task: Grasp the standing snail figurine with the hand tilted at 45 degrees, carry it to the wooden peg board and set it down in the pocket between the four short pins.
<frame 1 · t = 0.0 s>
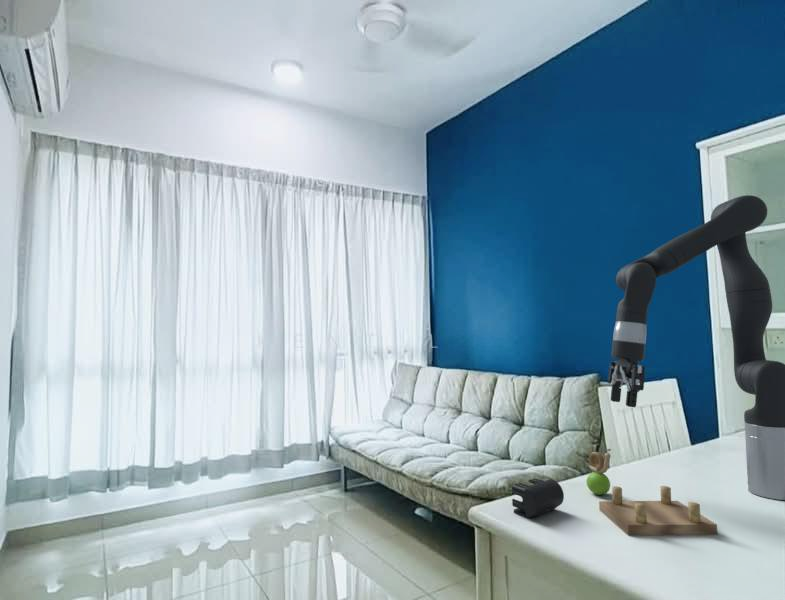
hand: (622, 404, 118), 22 cm above the table, tool pointing down, fingers open, 8 cm apart
snail figurine: (600, 495, 116), on the table
wooden peg board: (654, 521, 100), on the table
end cap: (538, 513, 106), on the table
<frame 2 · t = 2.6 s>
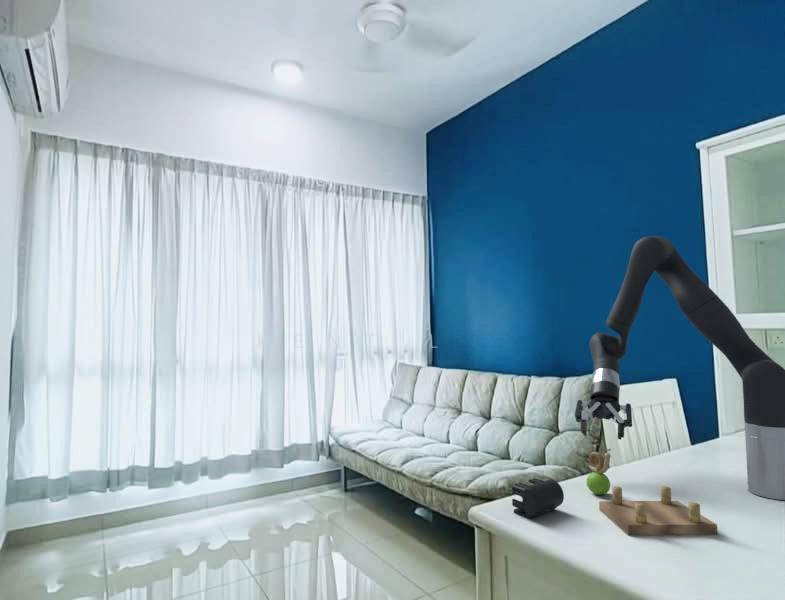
hand: (601, 435, 124), 13 cm above the table, tool tilted 45°, fingers open, 8 cm apart
nothing on the table moved.
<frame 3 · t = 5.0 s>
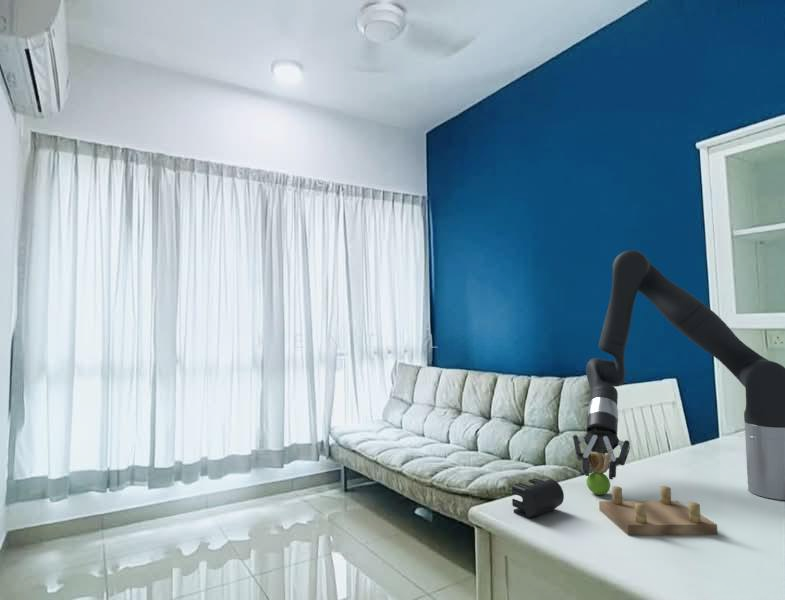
hand: (598, 475, 115), 5 cm above the table, tool tilted 45°, fingers closed on snail figurine, 5 cm apart
snail figurine: (600, 495, 116), on the table, touching gripper
everything else where it was.
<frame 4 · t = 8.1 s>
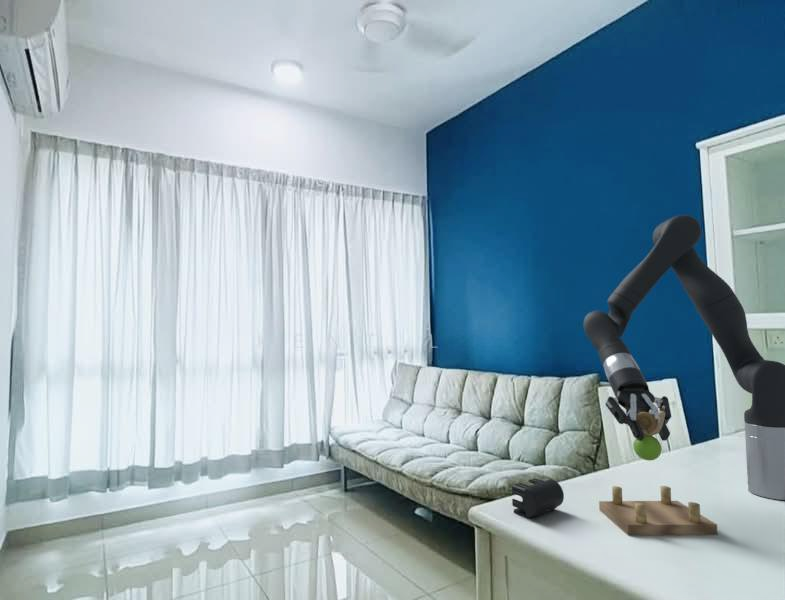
hand: (653, 438, 100), 18 cm above the table, tool tilted 45°, fingers closed on snail figurine, 4 cm apart
snail figurine: (650, 461, 101), point 13 cm above the table, touching gripper
everything else where it was.
when the fingers open (8 cm above the table, at t = 10.9 s): snail figurine stays where it is, resting on wooden peg board.
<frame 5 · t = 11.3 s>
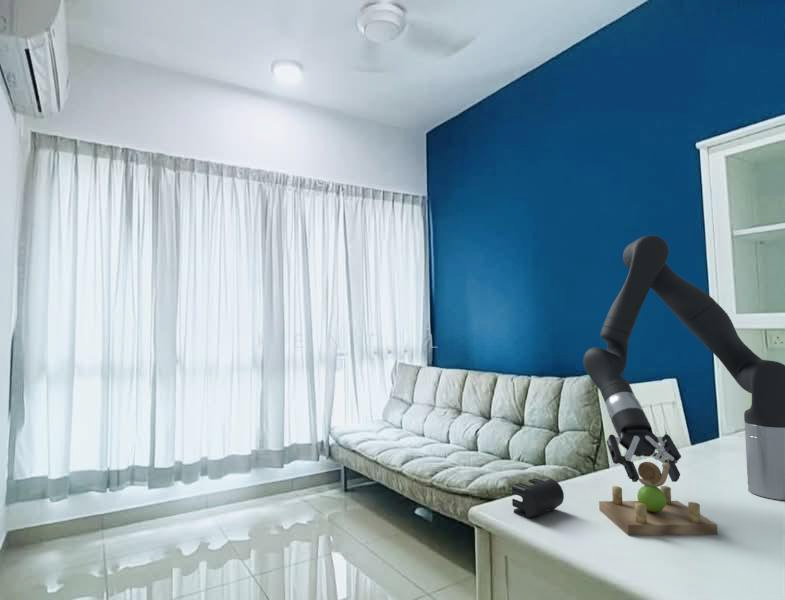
hand: (656, 480, 99), 9 cm above the table, tool tilted 45°, fingers open, 8 cm apart
snail figurine: (654, 512, 100), point 2 cm above the table, touching wooden peg board
everything else where it was.
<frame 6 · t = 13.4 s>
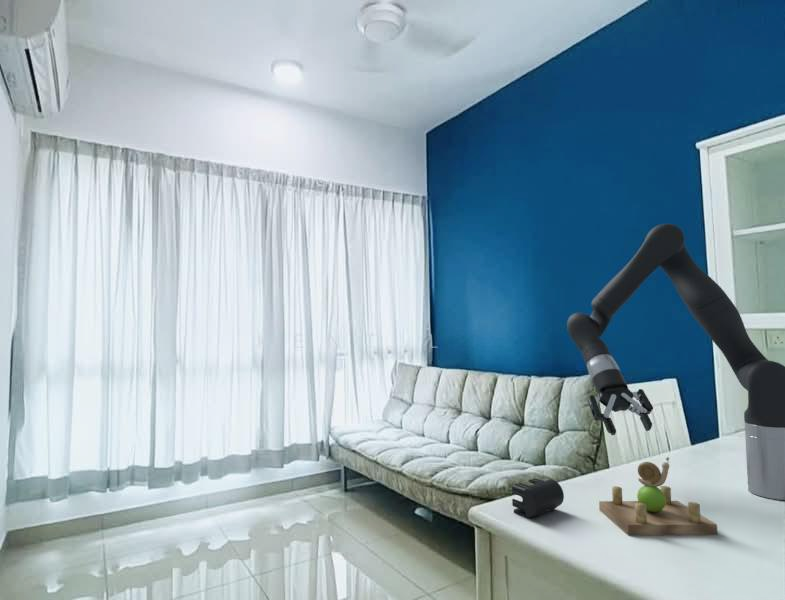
hand: (631, 431, 114), 16 cm above the table, tool tilted 40°, fingers open, 8 cm apart
nothing on the table moved.
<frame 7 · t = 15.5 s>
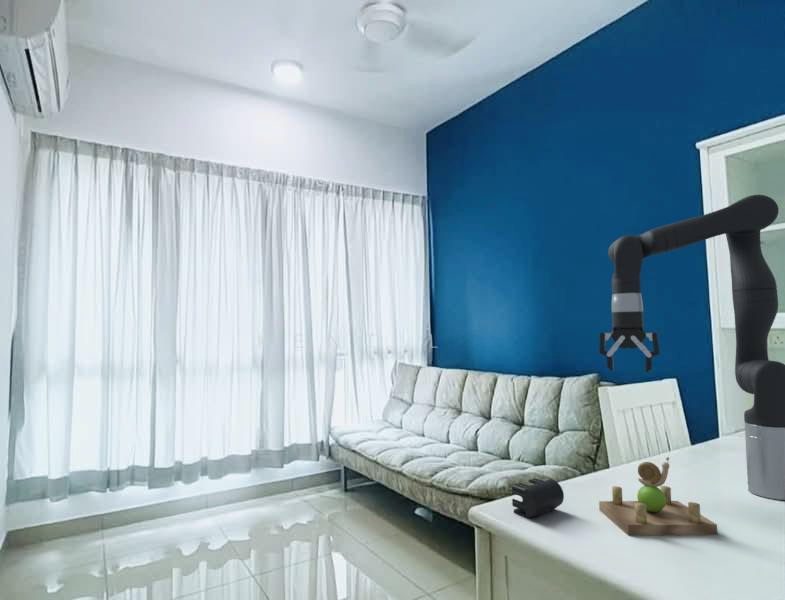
hand: (629, 371, 124), 30 cm above the table, tool pointing down, fingers open, 8 cm apart
nothing on the table moved.
at the end: snail figurine 0.2 cm off-centre on the wooden peg board, point 1.8 cm above the wooden peg board's base; snail figurine tilted 0°; the gripper is holding nothing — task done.
